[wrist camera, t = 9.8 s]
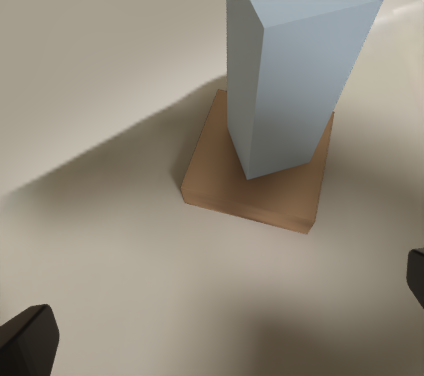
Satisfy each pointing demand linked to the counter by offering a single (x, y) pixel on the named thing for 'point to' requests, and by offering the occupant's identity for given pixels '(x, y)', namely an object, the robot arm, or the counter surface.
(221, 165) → the walnut base block
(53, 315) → the robot arm
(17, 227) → the counter surface
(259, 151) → the slate pillar
